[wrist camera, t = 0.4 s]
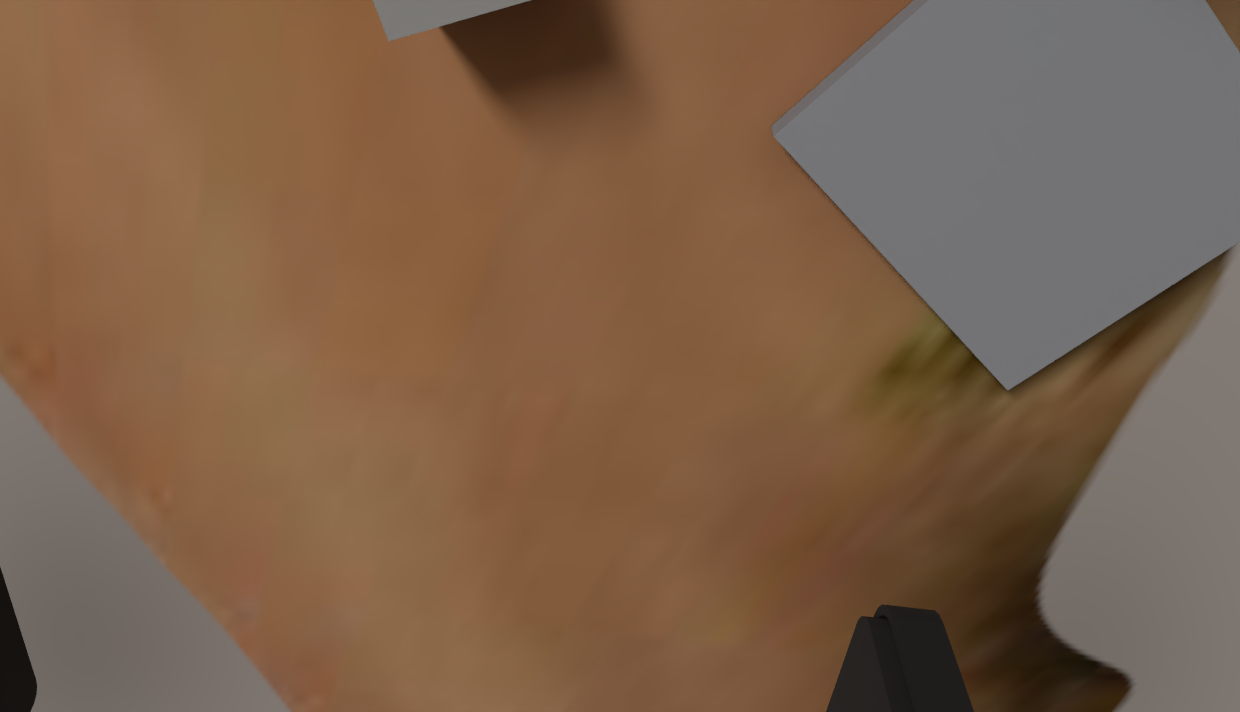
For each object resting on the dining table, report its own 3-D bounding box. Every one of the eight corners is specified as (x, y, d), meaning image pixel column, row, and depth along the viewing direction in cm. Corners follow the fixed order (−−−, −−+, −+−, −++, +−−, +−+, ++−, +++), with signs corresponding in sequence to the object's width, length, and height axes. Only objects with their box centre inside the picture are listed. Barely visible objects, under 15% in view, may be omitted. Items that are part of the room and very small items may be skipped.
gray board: (1089, -156, 28) (1104, -155, 27) (1307, 174, 33) (1327, 185, 32) (771, 126, 34) (773, 136, 33) (999, 375, 39) (1007, 390, 38)
